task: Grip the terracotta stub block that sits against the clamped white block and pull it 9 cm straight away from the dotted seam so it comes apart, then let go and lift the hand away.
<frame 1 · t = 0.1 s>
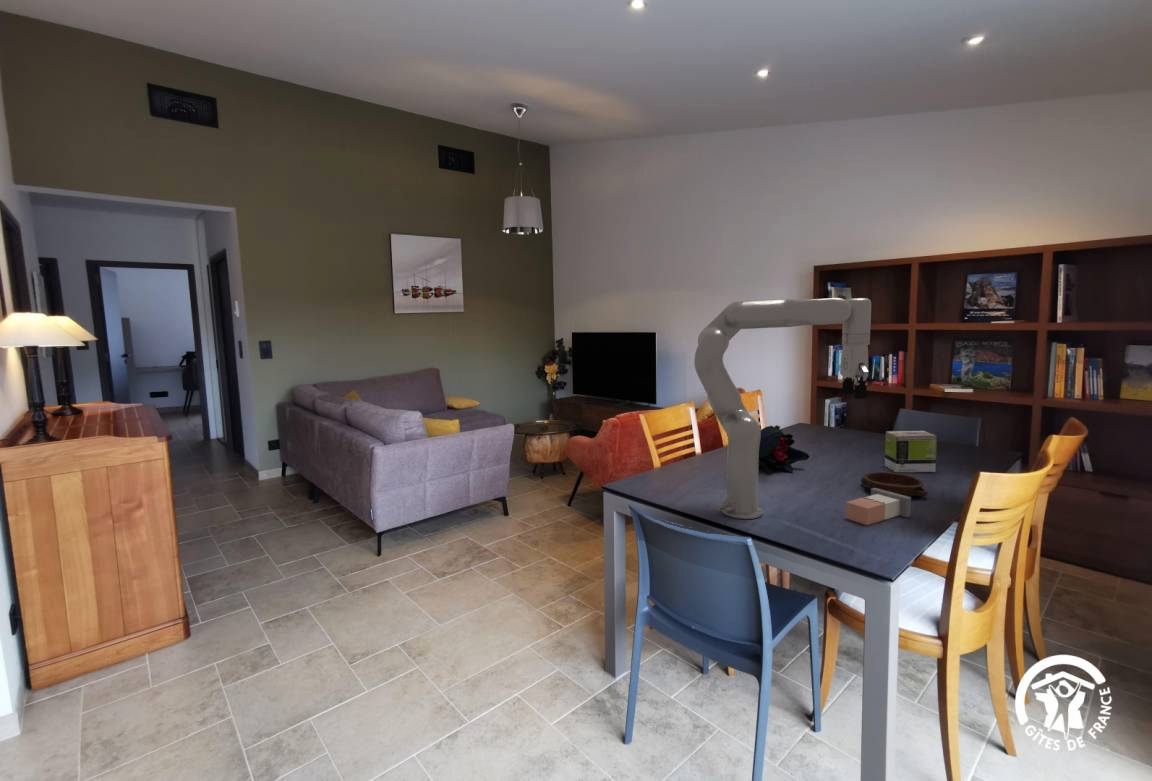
hand: (853, 396, 173), 37 cm above the table, tool pointing down, fingers open, 9 cm apart
dish: (891, 493, 198), on the table
tea box: (909, 470, 225), on the table
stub: (864, 510, 170), point 4 cm above the table, slide at 0.0 cm
decorative plant: (776, 470, 228), on the table
white block: (885, 516, 175), resting on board
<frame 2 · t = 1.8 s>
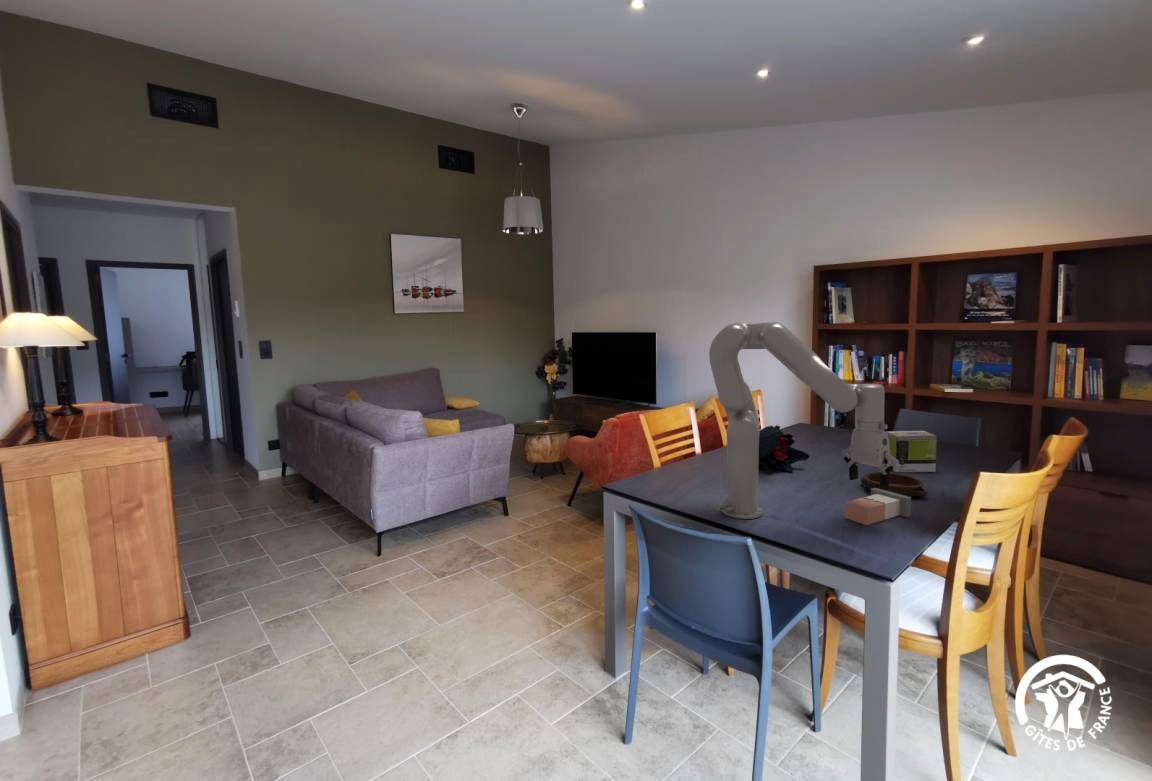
hand: (868, 483, 169), 12 cm above the table, tool pointing down, fingers open, 9 cm apart
nothing on the table moved.
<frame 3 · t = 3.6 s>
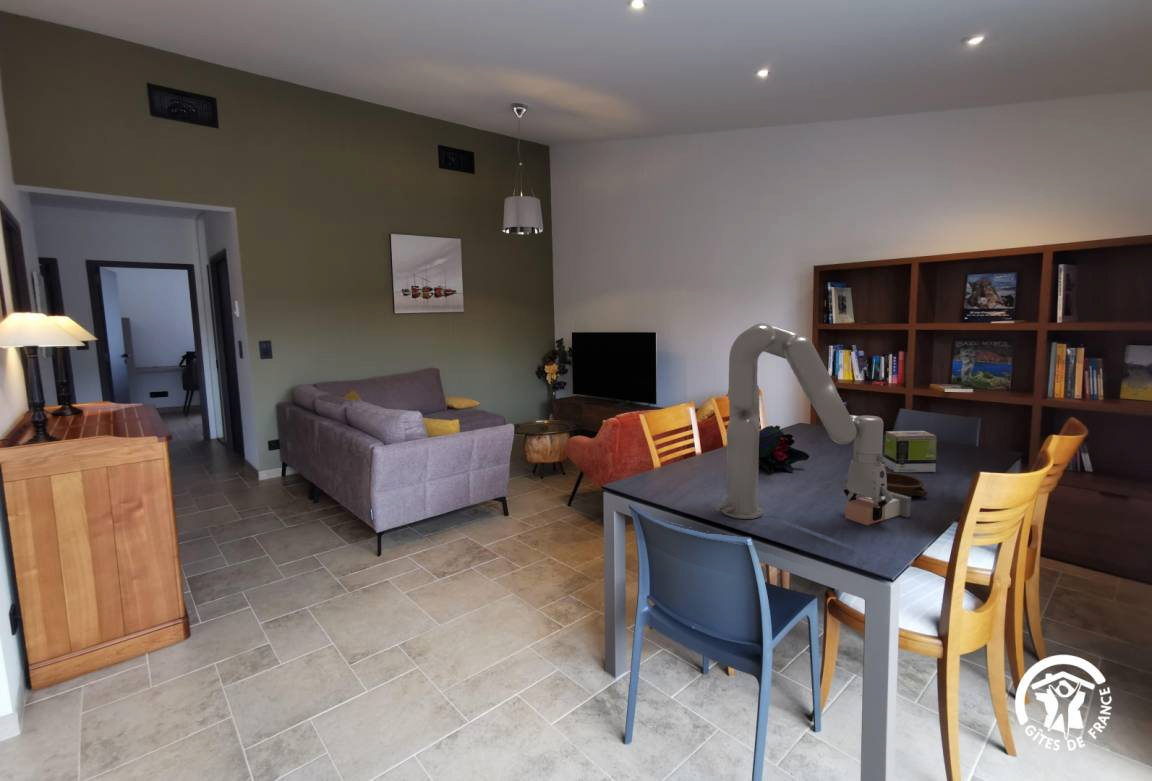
hand: (864, 515, 170), 2 cm above the table, tool pointing down, fingers closed on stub, 7 cm apart
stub: (864, 510, 170), point 4 cm above the table, slide at 0.0 cm, touching gripper
everything else where it was.
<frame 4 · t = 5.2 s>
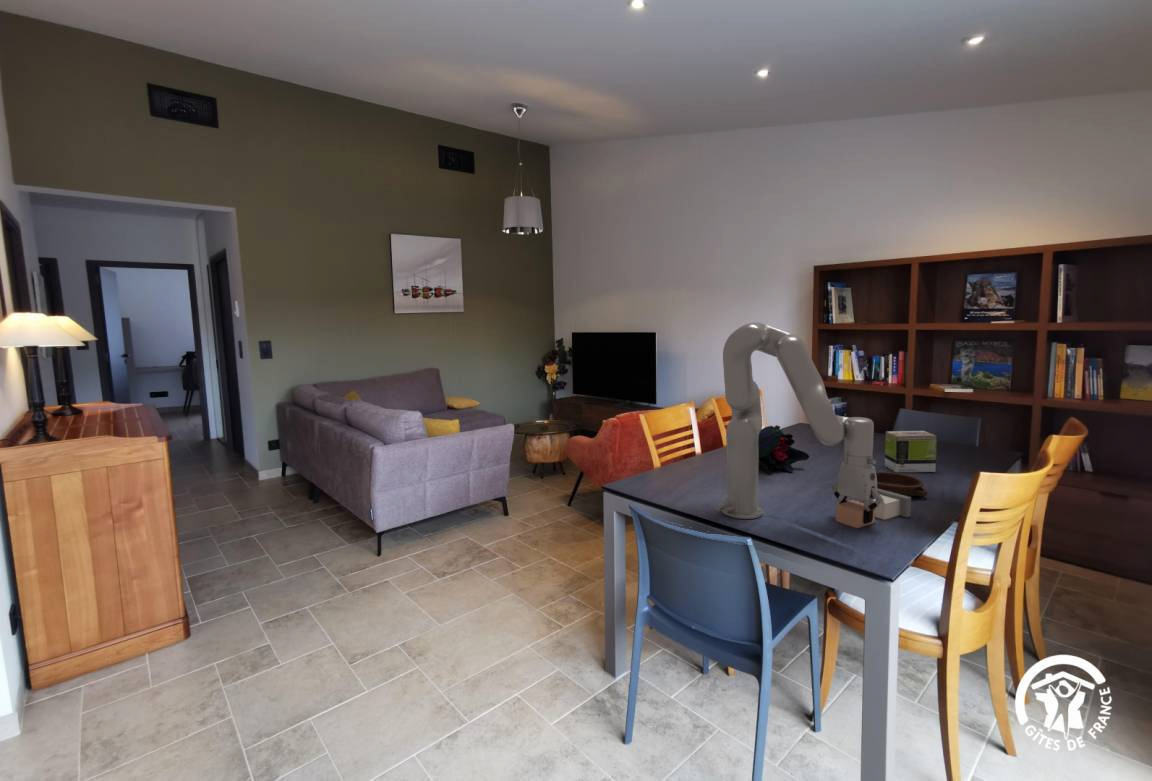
hand: (855, 518, 168), 2 cm above the table, tool pointing down, fingers closed on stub, 7 cm apart
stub: (855, 513, 168), point 4 cm above the table, slide at 4.4 cm, touching gripper
everything else where it was.
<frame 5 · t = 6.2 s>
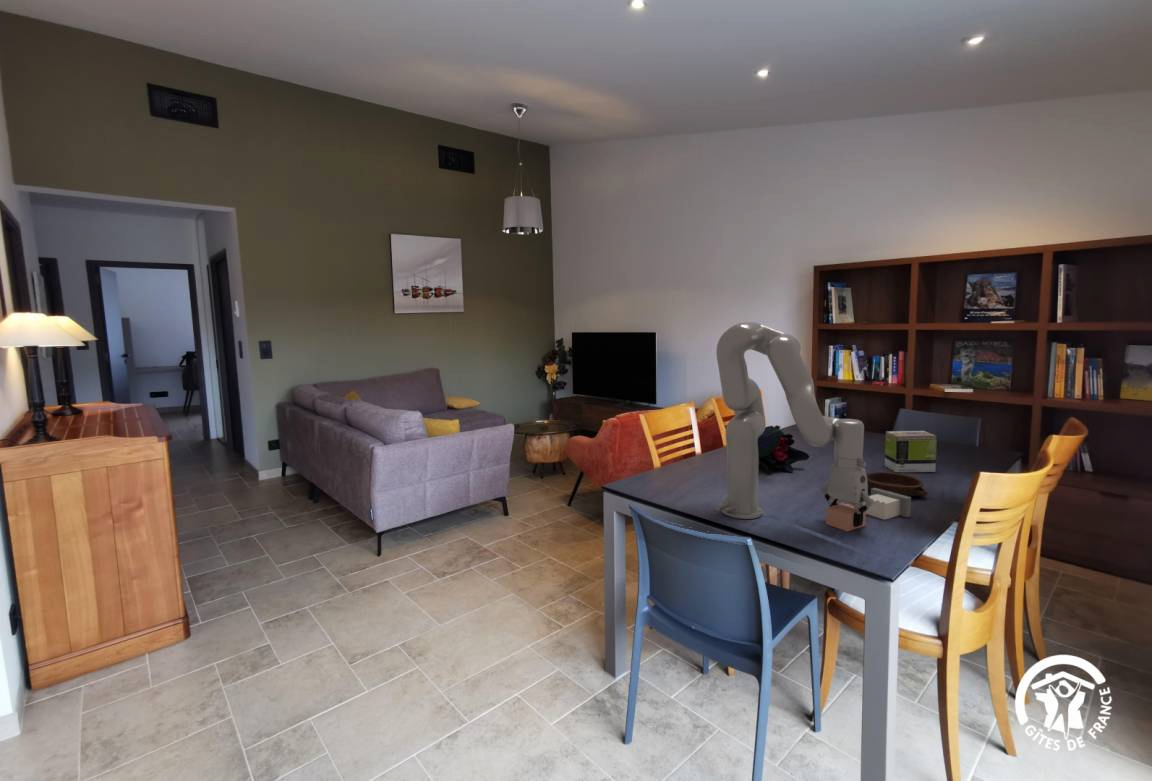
hand: (845, 521, 166), 2 cm above the table, tool pointing down, fingers closed on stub, 7 cm apart
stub: (845, 516, 166), point 4 cm above the table, slide at 8.8 cm, touching gripper
everything else where it was.
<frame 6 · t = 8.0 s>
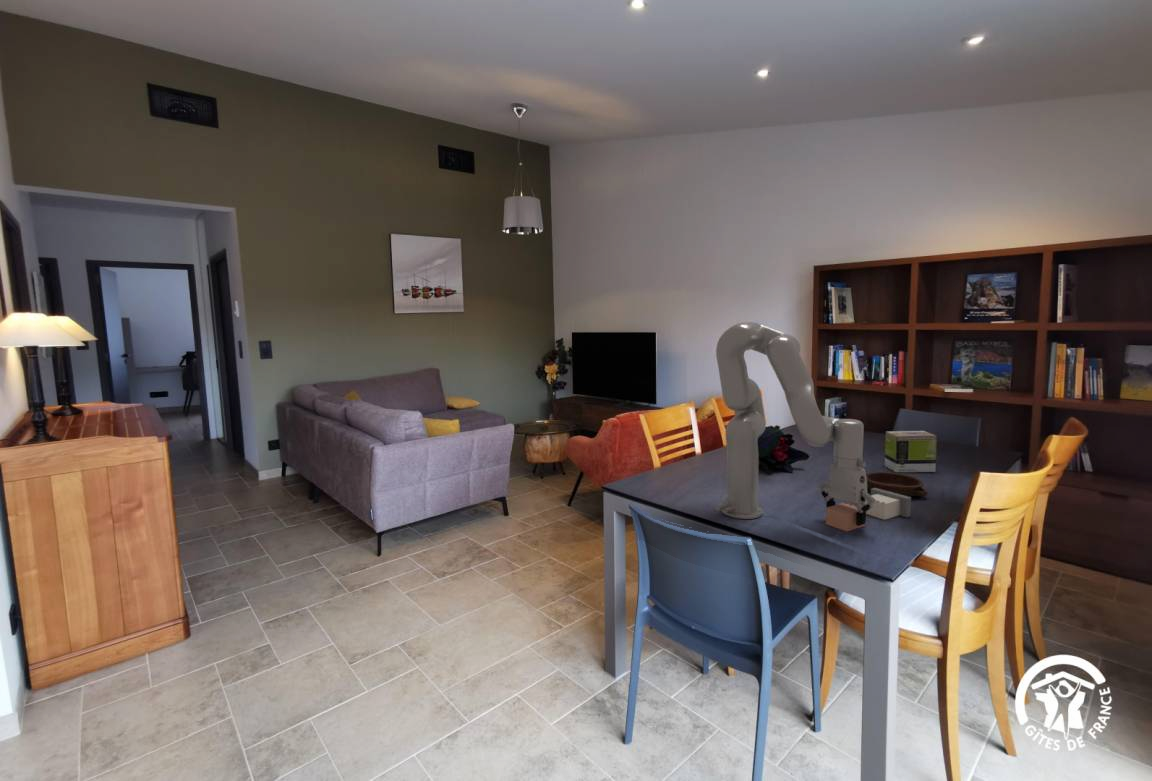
hand: (845, 519, 166), 3 cm above the table, tool pointing down, fingers open, 9 cm apart
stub: (845, 516, 166), point 4 cm above the table, slide at 9.0 cm
everything else where it was.
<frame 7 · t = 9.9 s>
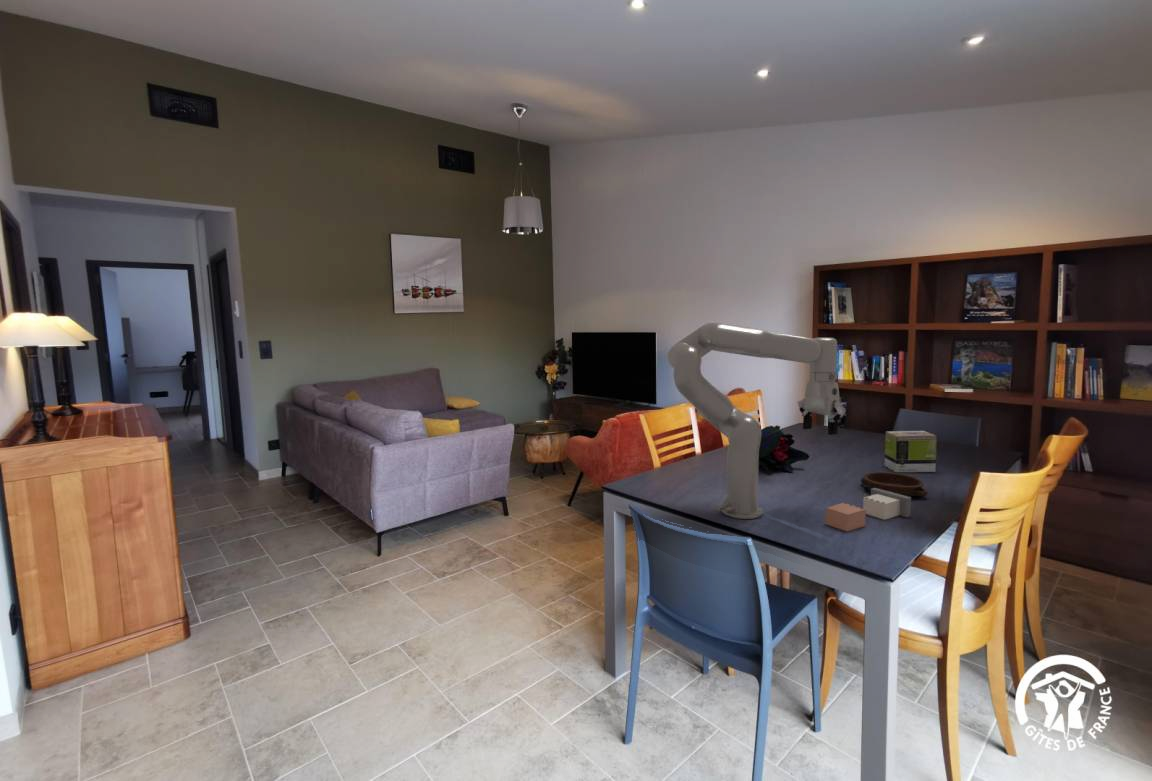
hand: (819, 431, 179), 25 cm above the table, tool pointing down, fingers open, 9 cm apart
nothing on the table moved.
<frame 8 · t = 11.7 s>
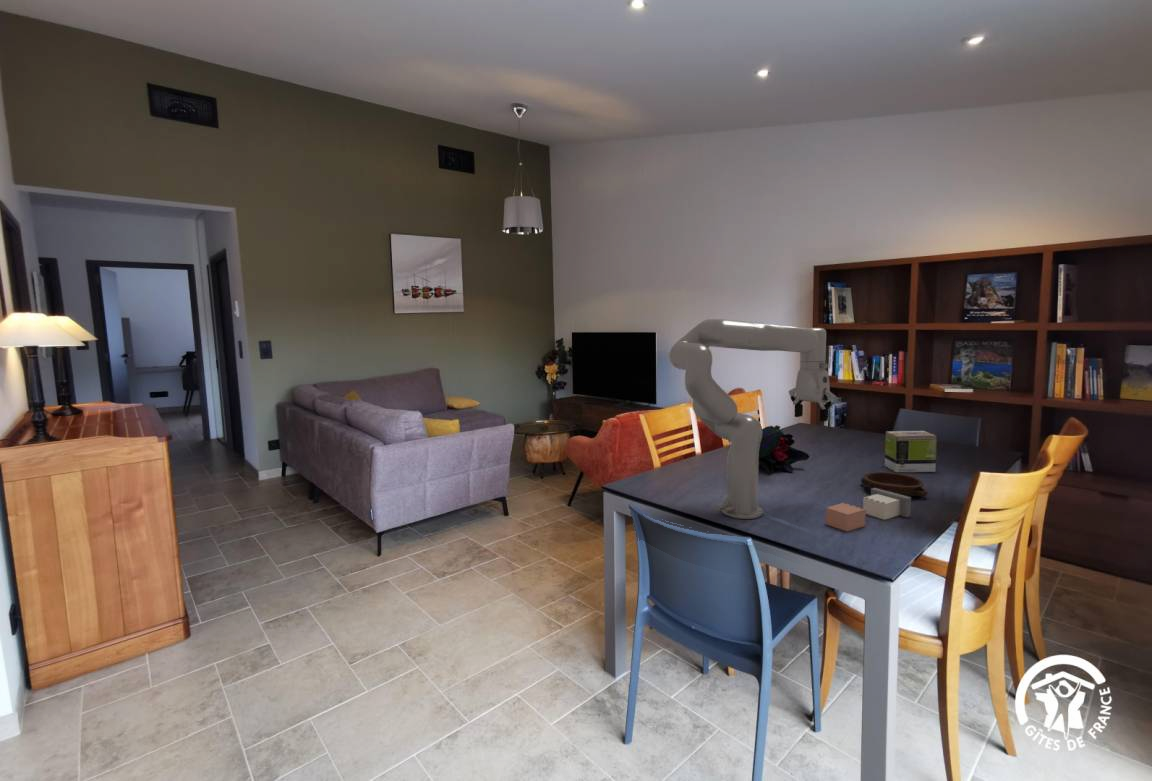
hand: (810, 418, 185), 28 cm above the table, tool pointing down, fingers open, 9 cm apart
nothing on the table moved.
at the end: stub slide at 9.0 cm; the gripper is holding nothing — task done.
